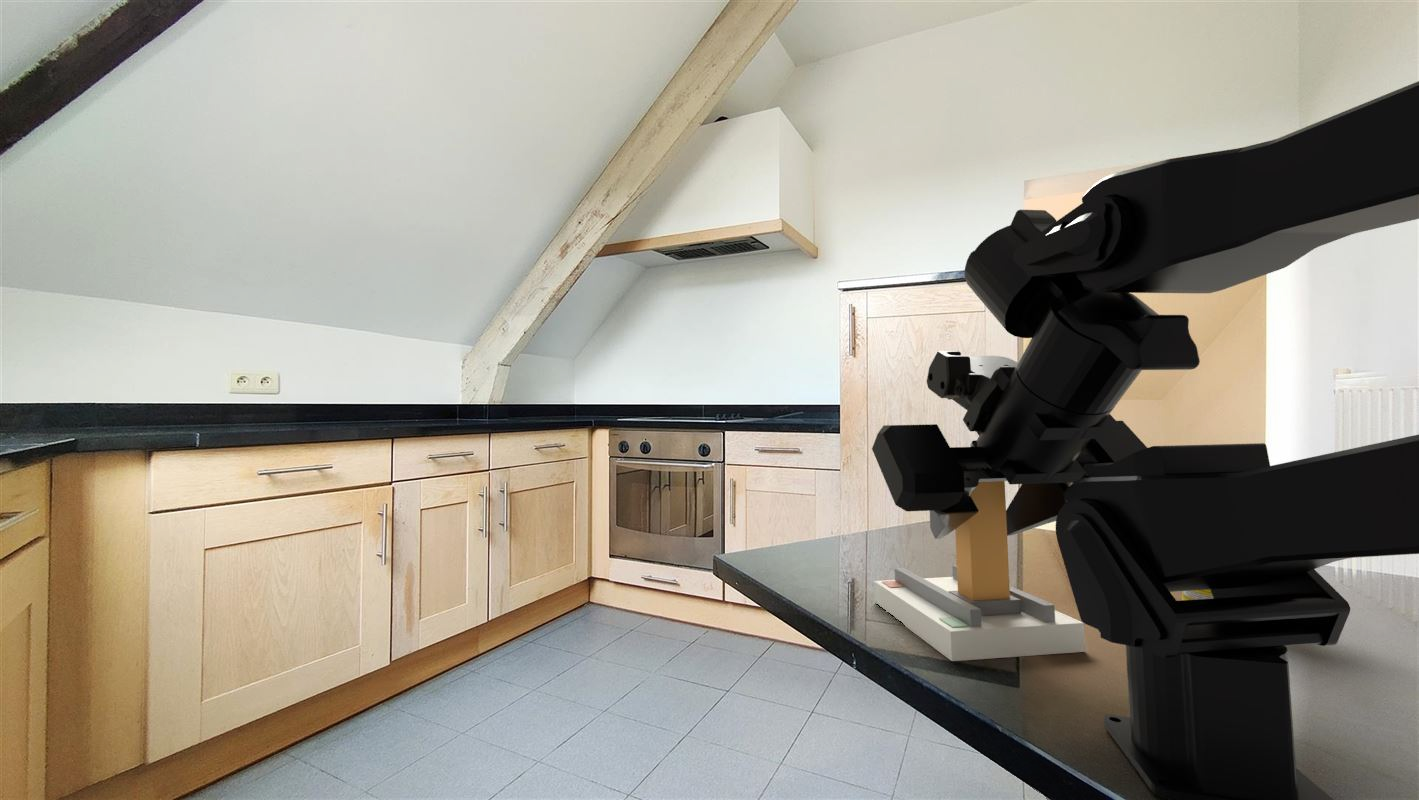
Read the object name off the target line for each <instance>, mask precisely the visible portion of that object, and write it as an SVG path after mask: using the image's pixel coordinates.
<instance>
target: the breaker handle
mask: <svg viewBox="0 0 1419 800" xmlns="http://www.w3.org/2000/svg"><path fill="white" fill-rule="evenodd" d="M1005 482H1006V481H990V482H979V484H978V486H977V487H976V489H974V490H973V491H972V493H971V494H970V496H971V498H972V499H973V501H974V503H975V505H976V507H977V508H978V510H979V511H978V513H977V514H975V515H974V516H972V517H971V518H970V519H968V520H967V521H965V522H964V523H963V524H961V525H960V526H959V527H957V528H956V529H955V530H954V531H955V551H956V552H955V553H956V558H955V559H956V565H957V583H958V591H948V592H949V593H951V594H953V595H955V596H957V597H959V598H961V599H963V600H964V601H966V602H968V603H970V604H972V605H974V606H976V607H978V608H979V609H981V616H986V615H1002V614H1019V613H1021V600H1020V599H1018V598H1016V597H1014V596H1011V595H1010V586H1011V585H1010V569H1009V548H1008V546H1009V544H1008V536H1007V522H1006V510H1007V507H1006V506H1007V504H1006V503H1007V502H1006V483H1005Z"/></svg>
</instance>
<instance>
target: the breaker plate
mask: <svg viewBox="0 0 1419 800" xmlns="http://www.w3.org/2000/svg"><path fill="white" fill-rule="evenodd" d="M951 569H952V576H948V577H947V576H944V577H926V578H924V577H921V576H919V575H917V574H916V573H914V572H912V571H910V570H908V569H906V568H904V567H894V579H887V580H873V586H874V587H873V591H874V592H873V595H874V596H873V597H874V601H875V600H876V601H877V602H878V603H879V604H880V605H882V606H883V607H884V608H885V609H886V610H887V611H888V612H889V613H891V614H892V615H893V616H894V617H896V618H897V619H898V620H899V621H901V622H902V623H903V624H904V625H905V627H906V628H907V629H908V630H910V631H911V632H913V633H914V634H915V635H916V636H917V637H919V638H920V639H921V640H923V641H924V642H926V643H927V644H928V645H929V646H931V647H932V648H934V649H935V650H936V651H938V652H939V654H941V655H943V657H946V658H947V659H948V660H949V661H951V662H958V661H959V662H961V661H972V660H973V661H974V660H975V661H976V660H986V659H987V660H989V659H1000V658H1002V659H1003V658H1016V657H1017V658H1018V657H1030V656H1043V655H1045V656H1046V655H1058V654H1072V653H1074V654H1075V653H1085V652H1086V640H1085V639H1086V638H1085V636H1086V635H1085V623H1083V622H1082V621H1080V620H1079V619H1076V618H1073V617H1071V616H1069V615H1067V614H1064V613H1062V612H1060V611H1058V610H1056V608H1055V604H1053V603H1050V602H1049V601H1047V600H1044V599H1041V598H1039V597H1037V596H1035V595H1032V594H1031V593H1027V592H1025V591H1023V590H1020V589H1018V588H1017V587H1013V586H1011V585H1009V586H1010V595H1011V596H1014V597H1016V598H1018V599H1020V600H1021V613H1019V614H1002V615H986V616H981V609H979V608H978V607H976V606H974V605H972V604H970V603H968V602H966V601H964V600H963V599H961V598H959V597H957V596H955V595H953V594H951V593H949V592H948V591H958V583H957V564H953V565H952V568H951ZM894 617H893V618H894ZM898 620H897V621H898ZM899 621H898V622H899ZM902 623H901V624H902ZM903 624H902V625H903ZM904 625H903V626H904Z"/></svg>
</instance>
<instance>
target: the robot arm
mask: <svg viewBox="0 0 1419 800" xmlns="http://www.w3.org/2000/svg"><path fill="white" fill-rule="evenodd" d="M1081 202H1082V203H1081V204H1079V205H1077V206H1076V207H1075V208H1073V209H1072V210H1071V211H1069V212H1068V213H1067V214H1064V215H1063V216H1062V217H1061V218H1059V219H1056V217H1054V216H1053V215H1052V214H1051V213H1049V212H1048V211H1047V210H1043V209H1018V210H1017V211H1016V212H1015V215H1014V217H1013V219H1012V221H1011V223H1010V225H1007V226H1005V227H1002V228H1000V229H998V230H996V231H994V232H993V233H991V234H990V235H989V236H987V237H985V239H984V240H982V241H981V243H979V244H978V246H977V247H976V248H975V249H974V250H973V251H971V252H970V254H969V256H968V258H967V259H966V263H965V267H964V280H965V281H966V285H967V286H968V287H969V288H970V289H971V290H972V291H973V293H974V295H976V297H977V298H978V299H979V300H980V301H981V302H982V304H983V305H984V306H985V307H986V309H988V311H989V313H991V314H992V316H994V317H995V319H996V320H997V321H998V322H999V323H1000V325H1001V327H1002V328H1004V330H1005V331H1006V332H1007V334H1010V335H1012V336H1013V337H1018V338H1021V339H1030V341H1029V343H1028V345H1027V347H1026V348H1025V350H1024V352H1023V354H1022V355H1021V357H1020V359H1019V361H1016V360H1013V358H1012V359H1011V358H1009V357H1005V356H1001V355H962V352H961V351H959V350H937V352H936V354H935V356H934V357H933V359H932V360H931V363H930V364H929V367H928V371H927V377H926V385H927V388H928V389H929V390H930V391H931V392H932V393H934V394H935V395H937V397H939V398H941V399H947V400H952V401H954V402H955V403H956V404H958V405H959V406H960V407H962V408H963V409H965V410H966V412H965V414H964V416H963V418H962V421H963V423H964V424H965V426H966V427H967V430H968V431H969V432H976V434H977V436H978V437H977V439H976V440H972V441H971V442H970V446H960V447H959V446H958V447H956V446H953V447H951V446H950V444H949V443H948V441H947V439H946V438H945V436H944V434H943V433H942V430H941V429H940V427H939V425H938V424H934V423H933V424H894V425H893V424H892V425H891V424H885V425H883V426H882V427H881V429H880V430H879V431H878V433H877V434H876V436H875V440H874V443H873V444H872V445H873V446H872V448H871V450H872V452H873V455H874V457H875V459H876V462H877V464H878V467H879V469H880V471H881V474H882V476H883V478H884V481H885V483H886V485H887V488H888V490H889V493H890V495H891V497H892V498H891V499H892V500H893V502H894V505H895V506H896V507H898V508H900V509H902V510H903V511H905V512H924V511H925V512H927V511H928V512H929V525H930V526H929V529H930V531H931V534H932V536H933V537H934V539H935V540H940V539H942V538H944V537H946V536H948V535H949V534H951V533H952V532H953V531H955V529H956V528H957V527H959V526H960V525H961V524H963V523H964V522H965V521H967V520H968V519H970V518H971V517H972V516H974V515H975V514H977V513H978V511H979V510H978V508H977V507H976V505H975V503H974V501H973V499H972V498H971V496H970V494H971V493H972V491H973V490H974V489H976V487H977V486H978V484H979V482H990V481H1005V482H1007V483H1008V485H1020V487H1019V488H1018V490H1017V491H1016V493H1015V495H1014V496H1013V498H1012V500H1011V502H1010V503H1009V504H1008V507H1006V522H1007V537H1008V536H1010V537H1011V536H1014V535H1016V534H1019V533H1022V532H1026V531H1028V530H1029V531H1030V530H1032V529H1036V528H1038V527H1041V526H1044V525H1047V524H1050V523H1053V522H1055V535H1056V536H1055V537H1056V540H1057V544H1058V546H1059V547H1058V548H1059V551H1060V554H1061V557H1062V560H1063V565H1064V568H1065V571H1066V574H1067V578H1068V581H1069V583H1070V587H1071V591H1072V595H1073V597H1074V601H1075V605H1076V608H1077V611H1078V615H1079V618H1080V620H1081V622H1083V623H1084V625H1087V626H1089V627H1092V628H1094V629H1096V630H1098V632H1099V633H1100V638H1101V639H1103V640H1105V641H1107V642H1110V643H1113V644H1118V645H1124V646H1125V657H1126V671H1127V672H1126V673H1127V674H1126V675H1127V676H1126V677H1127V692H1128V693H1127V695H1128V707H1129V708H1128V710H1129V712H1128V713H1129V716H1124V715H1115V714H1105V715H1104V716H1103V725H1104V727H1105V730H1107V732H1108V733H1109V734H1110V736H1111V737H1112V738H1113V739H1114V742H1115V743H1116V744H1117V745H1118V747H1119V748H1120V749H1121V751H1122V752H1123V753H1124V756H1125V757H1126V758H1127V759H1128V760H1129V762H1130V763H1131V765H1132V766H1133V767H1134V769H1135V770H1136V771H1137V772H1138V774H1139V775H1140V777H1141V778H1142V780H1143V782H1144V783H1145V784H1146V785H1147V786H1148V788H1149V789H1150V791H1151V792H1152V793H1154V794H1155V795H1156V796H1157V797H1159V798H1161V799H1164V800H1335V799H1334V798H1332V797H1331V796H1330V795H1329V794H1328V793H1326V792H1325V791H1324V790H1323V789H1322V788H1321V787H1319V786H1318V785H1317V784H1316V783H1315V782H1313V781H1312V780H1311V779H1310V778H1309V777H1307V776H1306V775H1305V774H1304V773H1303V772H1301V771H1300V770H1299V769H1298V768H1297V764H1296V752H1295V750H1296V749H1295V737H1294V736H1295V735H1294V724H1293V723H1294V721H1293V708H1292V707H1293V706H1292V694H1291V682H1290V681H1291V680H1290V666H1289V665H1290V664H1289V654H1288V652H1289V651H1288V647H1298V646H1310V645H1318V646H1320V647H1321V646H1322V647H1326V646H1327V647H1329V646H1335V645H1337V644H1338V641H1339V639H1340V637H1341V635H1342V633H1343V629H1344V627H1345V625H1346V623H1347V619H1348V617H1349V615H1350V614H1351V607H1350V603H1349V602H1348V601H1347V600H1346V599H1345V598H1344V597H1343V596H1342V595H1341V594H1340V592H1339V591H1338V590H1336V589H1335V588H1334V587H1333V586H1332V585H1331V584H1330V583H1329V582H1328V581H1327V580H1326V579H1325V578H1324V577H1323V576H1322V575H1321V574H1320V573H1319V572H1318V571H1317V570H1316V569H1318V568H1321V567H1323V566H1326V565H1328V564H1331V563H1334V562H1338V561H1342V560H1347V559H1352V558H1353V559H1354V558H1355V559H1356V558H1370V557H1371V558H1372V557H1388V556H1391V557H1392V556H1402V555H1403V556H1405V555H1409V556H1410V555H1419V434H1414V435H1409V436H1405V437H1401V438H1395V439H1390V440H1386V441H1382V442H1377V443H1372V444H1367V445H1362V446H1358V447H1352V448H1348V449H1344V450H1339V451H1335V452H1330V453H1325V454H1321V455H1317V456H1312V457H1307V458H1302V459H1297V460H1296V459H1295V460H1293V461H1292V460H1291V461H1288V462H1287V461H1286V462H1284V463H1283V462H1282V463H1278V464H1274V465H1270V464H1271V463H1270V459H1269V453H1268V448H1267V445H1266V443H1263V442H1261V443H1254V442H1253V443H1227V444H1226V443H1224V444H1223V443H1221V444H1185V445H1184V444H1182V445H1181V444H1180V445H1152V446H1150V447H1148V446H1146V444H1144V442H1143V441H1142V440H1141V439H1140V438H1139V437H1138V436H1137V435H1136V434H1135V433H1134V431H1133V430H1132V429H1131V428H1130V427H1129V426H1128V425H1127V424H1126V422H1125V421H1123V420H1117V419H1115V418H1114V417H1113V416H1112V415H1111V412H1113V410H1114V408H1115V407H1116V405H1118V403H1119V402H1120V400H1121V399H1122V397H1123V396H1124V395H1125V393H1127V391H1128V390H1129V388H1130V387H1131V385H1132V384H1133V383H1134V382H1135V380H1136V379H1137V378H1138V376H1139V375H1140V374H1141V372H1142V371H1177V370H1178V371H1180V370H1181V371H1184V370H1186V371H1187V370H1194V369H1196V368H1198V366H1199V365H1200V361H1201V359H1200V356H1199V351H1198V346H1197V345H1196V343H1195V341H1194V340H1193V338H1192V336H1191V333H1190V331H1189V330H1190V329H1189V326H1190V325H1189V321H1190V319H1189V317H1188V316H1187V315H1184V314H1159V313H1158V312H1156V311H1155V310H1154V309H1153V308H1151V307H1150V306H1149V305H1148V304H1146V303H1145V301H1143V300H1141V299H1140V298H1139V297H1137V296H1136V295H1135V293H1136V294H1140V293H1141V294H1212V293H1215V292H1220V291H1223V290H1226V289H1228V288H1229V289H1230V288H1232V287H1234V286H1237V285H1240V284H1244V283H1246V282H1248V281H1252V280H1254V279H1257V278H1259V277H1263V276H1265V275H1268V274H1271V273H1274V272H1278V271H1280V270H1282V269H1285V268H1287V267H1289V266H1290V265H1292V264H1293V263H1295V262H1296V261H1298V260H1299V259H1301V258H1303V257H1304V256H1306V255H1307V254H1309V253H1310V252H1312V251H1313V250H1316V249H1317V248H1319V247H1321V246H1324V245H1327V244H1330V243H1332V242H1336V241H1337V240H1340V239H1342V238H1345V237H1350V236H1353V235H1355V234H1359V233H1362V232H1367V231H1372V230H1376V229H1381V228H1384V227H1388V226H1392V225H1394V226H1395V225H1397V224H1398V225H1399V224H1403V223H1405V222H1410V221H1411V222H1412V221H1415V220H1419V80H1418V81H1416V82H1413V83H1411V84H1408V85H1406V86H1403V87H1401V88H1399V89H1396V90H1393V91H1391V92H1389V93H1387V94H1384V95H1380V96H1379V97H1376V98H1374V99H1371V100H1369V101H1366V102H1363V103H1361V104H1359V105H1357V106H1355V107H1354V106H1353V107H1352V108H1349V109H1347V110H1345V111H1342V112H1339V113H1337V114H1334V115H1332V116H1329V117H1327V118H1324V119H1322V120H1320V121H1316V122H1315V123H1313V124H1310V125H1307V126H1305V127H1303V128H1300V129H1298V130H1296V131H1293V132H1290V133H1288V134H1285V135H1283V136H1280V137H1278V138H1276V139H1272V140H1268V141H1263V142H1261V143H1259V142H1258V143H1256V144H1251V145H1247V146H1243V147H1238V148H1232V149H1226V150H1218V151H1212V152H1206V153H1199V154H1192V155H1187V156H1180V157H1173V158H1168V159H1163V160H1160V161H1155V162H1153V163H1152V162H1151V163H1148V164H1144V165H1142V166H1137V167H1133V168H1130V169H1127V170H1122V171H1119V172H1115V173H1112V174H1109V175H1107V176H1105V177H1102V179H1100V180H1099V181H1097V182H1096V183H1094V184H1093V185H1092V187H1090V188H1089V189H1088V190H1087V191H1086V193H1084V195H1083V196H1082V197H1081ZM1132 293H1133V294H1132ZM1193 590H1211V593H1212V595H1213V598H1214V599H1198V600H1182V599H1180V600H1177V599H1176V597H1174V595H1173V594H1172V593H1173V592H1182V591H1193Z"/></svg>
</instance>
